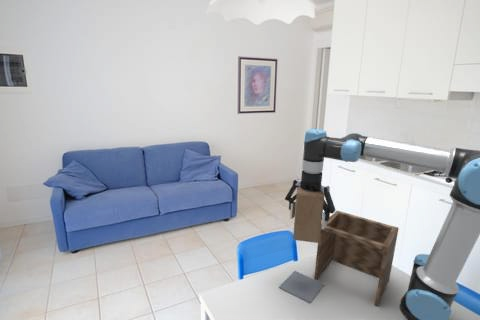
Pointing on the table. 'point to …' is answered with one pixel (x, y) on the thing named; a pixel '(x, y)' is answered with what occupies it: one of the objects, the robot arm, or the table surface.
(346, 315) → the table surface
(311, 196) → the wooden block
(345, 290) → the table surface
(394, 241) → the cubby
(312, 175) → the robot arm
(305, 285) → the mat
